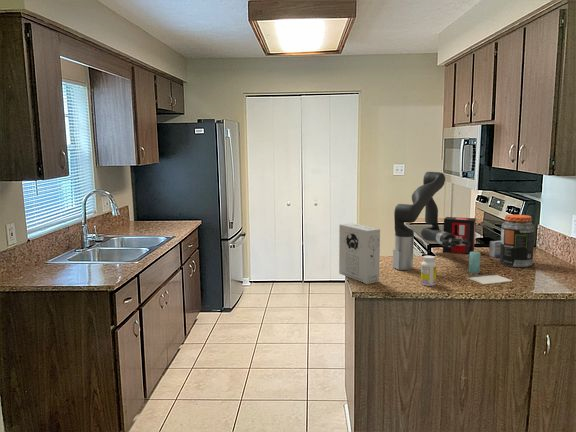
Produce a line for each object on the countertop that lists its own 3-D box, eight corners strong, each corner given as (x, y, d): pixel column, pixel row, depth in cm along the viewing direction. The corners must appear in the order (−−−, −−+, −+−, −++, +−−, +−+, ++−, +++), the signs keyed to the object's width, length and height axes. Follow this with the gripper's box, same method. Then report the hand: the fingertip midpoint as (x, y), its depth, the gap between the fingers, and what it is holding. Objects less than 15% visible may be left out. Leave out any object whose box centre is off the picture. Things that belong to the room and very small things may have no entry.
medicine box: (494, 257, 264) (495, 242, 263) (488, 255, 269) (489, 240, 267) (506, 256, 266) (506, 241, 265) (500, 254, 271) (501, 240, 269)
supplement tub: (531, 262, 253) (534, 214, 250) (533, 269, 239) (537, 218, 235) (499, 259, 260) (501, 213, 256) (499, 266, 245) (502, 217, 241)
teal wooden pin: (473, 273, 232) (474, 254, 230) (466, 271, 236) (467, 251, 235) (481, 273, 233) (482, 253, 231) (474, 270, 238) (475, 251, 236)
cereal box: (379, 282, 220) (380, 229, 216) (366, 284, 216) (367, 230, 212) (351, 271, 238) (351, 222, 234) (338, 273, 234) (339, 224, 231)
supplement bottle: (433, 281, 219) (434, 254, 217) (437, 286, 212) (439, 258, 210) (418, 282, 219) (419, 255, 217) (423, 286, 212) (424, 258, 210)
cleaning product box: (442, 252, 278) (444, 218, 275) (444, 249, 286) (446, 216, 283) (472, 255, 271) (474, 220, 268) (474, 251, 279) (475, 218, 276)
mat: (483, 284, 214) (483, 283, 214) (466, 277, 225) (466, 276, 225) (512, 281, 218) (512, 280, 218) (494, 274, 230) (494, 273, 230)
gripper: (434, 233, 258) (450, 239, 242) (457, 231, 260) (475, 237, 245) (433, 246, 259) (449, 253, 243) (457, 244, 262) (474, 251, 246)
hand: (462, 245), depth 244 cm, fingers open, 8 cm apart
